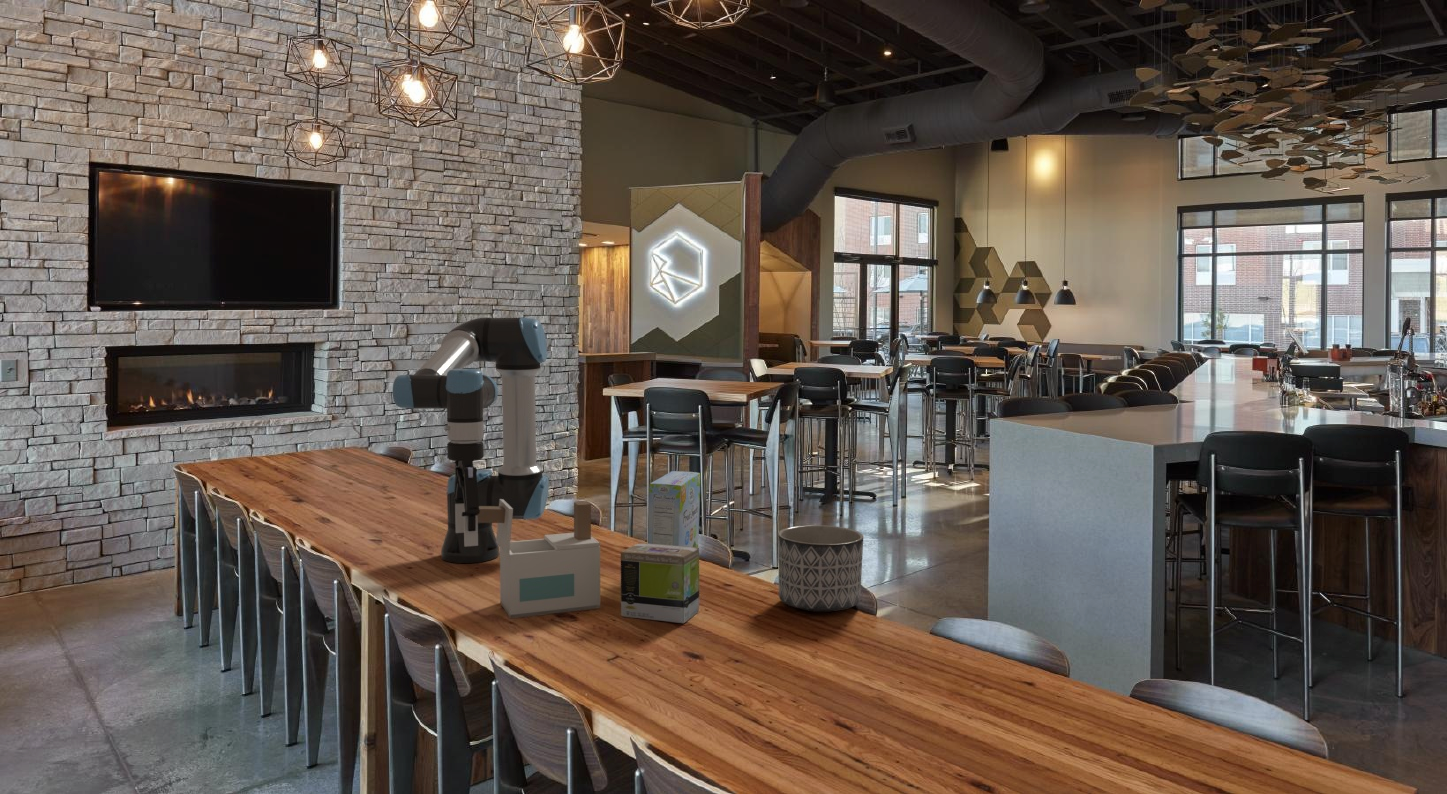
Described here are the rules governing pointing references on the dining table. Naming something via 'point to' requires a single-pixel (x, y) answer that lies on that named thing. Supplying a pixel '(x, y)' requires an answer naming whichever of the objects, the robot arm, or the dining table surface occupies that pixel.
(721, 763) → the dining table surface
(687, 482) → the snack box
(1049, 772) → the dining table surface
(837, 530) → the planter
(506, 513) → the flap near
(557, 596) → the carton
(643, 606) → the tea box
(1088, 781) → the dining table surface
